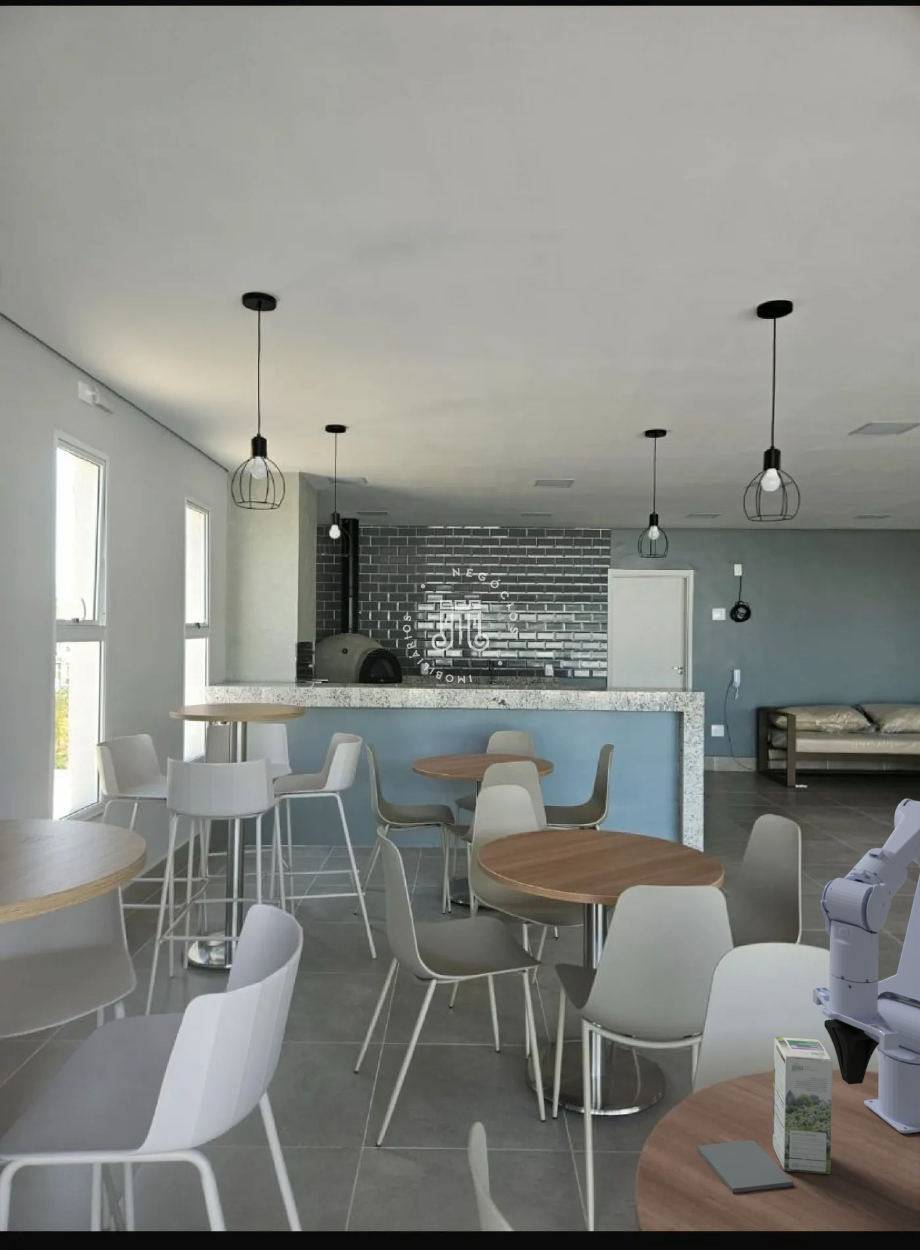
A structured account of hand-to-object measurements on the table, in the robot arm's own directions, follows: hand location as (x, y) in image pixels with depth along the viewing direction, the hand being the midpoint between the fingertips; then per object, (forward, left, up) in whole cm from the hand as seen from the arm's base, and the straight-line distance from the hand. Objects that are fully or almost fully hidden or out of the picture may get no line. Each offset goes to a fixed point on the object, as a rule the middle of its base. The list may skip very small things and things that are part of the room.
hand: (852, 1081), depth 112 cm
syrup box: (+7, 0, -10) cm, 12 cm away
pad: (+15, 0, -9) cm, 18 cm away
